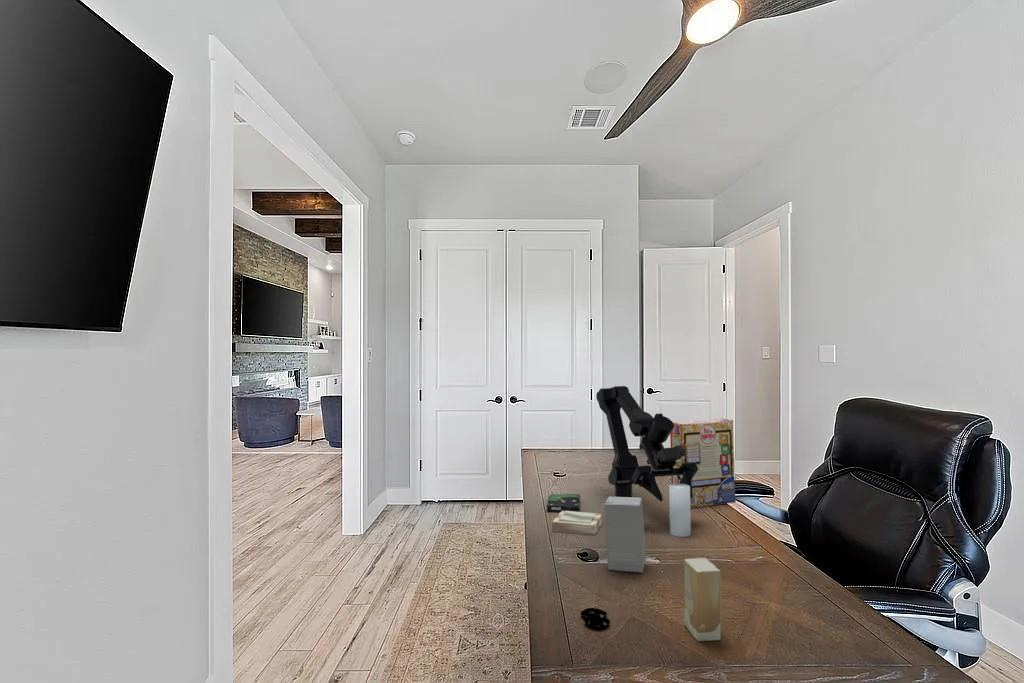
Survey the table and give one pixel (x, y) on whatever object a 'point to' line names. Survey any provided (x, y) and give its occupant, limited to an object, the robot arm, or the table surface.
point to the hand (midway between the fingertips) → (676, 499)
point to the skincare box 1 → (625, 534)
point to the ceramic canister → (679, 510)
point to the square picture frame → (577, 522)
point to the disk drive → (563, 503)
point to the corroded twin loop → (595, 618)
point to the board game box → (707, 459)
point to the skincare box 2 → (702, 599)
